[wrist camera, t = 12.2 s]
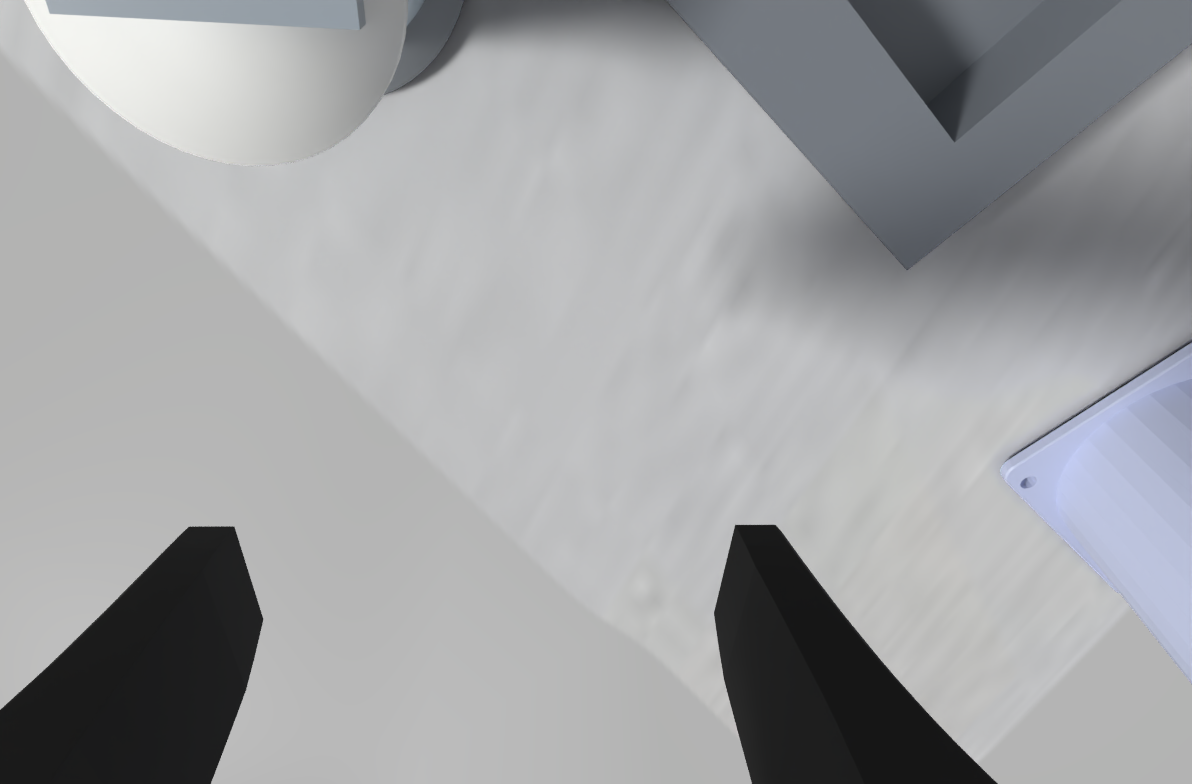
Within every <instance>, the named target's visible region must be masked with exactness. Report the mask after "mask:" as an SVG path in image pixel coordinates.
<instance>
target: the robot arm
mask: <svg viewBox="0 0 1192 784" xmlns="http://www.w3.org/2000/svg"><path fill="white" fill-rule="evenodd" d="M1000 474H1001V476H1002V478H1003V479H1004V480H1005V482H1006V483H1007V484H1008V485H1009V486H1010V487H1011V488H1012V489H1013V490H1014V491H1015V492H1016V493H1017V494H1018V495H1019V496H1020V497H1021V498H1022V499H1023V500H1024V501H1025V502H1026V503H1027V504H1028V505H1029V506H1030V507H1031V508H1032V509H1033V510H1034V511H1035V512H1036V513H1037V514H1038V515H1039V516H1040V517H1041V518H1042V519H1043V520H1044V521H1045V522H1046V523H1047V524H1048V525H1049V526H1050V527H1051V528H1052V529H1053V530H1054V531H1055V532H1056V533H1057V534H1058V535H1059V536H1060V537H1061V538H1062V539H1063V540H1064V541H1065V542H1066V543H1067V544H1068V545H1069V546H1070V547H1071V548H1072V549H1073V550H1074V551H1075V552H1076V553H1077V554H1078V555H1079V556H1080V557H1081V558H1082V559H1083V560H1084V561H1085V562H1086V563H1087V564H1088V565H1089V566H1090V567H1091V568H1092V569H1093V570H1094V571H1095V572H1096V573H1097V574H1099V575H1100V576H1101V577H1102V578H1103V579H1104V580H1105V581H1106V582H1107V583H1108V584H1109V585H1110V586H1111V587H1112V588H1113V589H1114V590H1115V591H1116V592H1117V593H1120V594H1121V595H1122V597H1123V598H1124V599H1125V600H1126V602H1127V603H1128V604H1129V605H1130V607H1131V608H1132V609H1133V611H1134V612H1135V613H1136V614H1137V616H1138V617H1139V618H1140V619H1141V621H1142V622H1143V623H1144V624H1145V626H1146V627H1147V628H1148V630H1149V631H1150V632H1151V633H1152V635H1153V636H1154V637H1155V638H1156V640H1157V641H1158V642H1159V643H1160V645H1161V646H1162V647H1163V648H1164V650H1165V651H1166V652H1167V654H1168V655H1169V656H1170V657H1171V659H1172V660H1173V661H1174V662H1175V664H1176V665H1177V666H1178V667H1179V668H1180V670H1181V671H1182V672H1183V674H1184V675H1185V676H1186V677H1187V679H1188V680H1189V681H1190V683H1191V684H1192V343H1190V344H1189V345H1187V346H1185V347H1184V348H1182V349H1181V350H1179V351H1178V352H1176V353H1174V354H1173V355H1171V356H1170V357H1168V358H1167V359H1165V360H1164V361H1162V362H1160V363H1159V364H1157V365H1156V366H1154V367H1153V368H1151V369H1149V370H1148V371H1146V372H1145V373H1143V374H1142V375H1140V376H1139V377H1137V378H1135V379H1134V380H1132V381H1131V382H1129V383H1128V384H1126V385H1124V386H1123V387H1121V388H1120V389H1118V390H1117V391H1115V392H1114V393H1112V394H1110V395H1109V396H1107V397H1106V398H1104V399H1103V400H1101V401H1099V402H1098V403H1096V404H1095V405H1093V406H1092V407H1090V408H1088V409H1087V410H1085V411H1084V412H1082V413H1081V414H1079V415H1078V416H1076V417H1074V418H1073V419H1071V420H1070V421H1068V422H1067V423H1065V424H1063V425H1062V426H1060V427H1059V428H1057V429H1056V430H1054V431H1053V432H1051V433H1049V434H1048V435H1046V436H1045V437H1043V438H1042V439H1040V440H1038V441H1037V442H1035V443H1034V444H1032V445H1031V446H1029V447H1028V448H1026V449H1024V450H1023V451H1021V452H1020V453H1018V454H1017V455H1015V456H1013V457H1012V458H1010V459H1009V460H1007V461H1006V462H1005V463H1004V464H1003V466H1002V467H1001V469H1000ZM714 616H715V623H716V630H717V637H718V644H719V651H720V657H721V663H722V669H723V675H724V681H725V685H726V688H727V692H728V696H729V700H730V704H731V707H732V711H733V715H734V719H735V722H736V726H737V730H738V734H739V737H740V741H741V745H742V748H743V752H744V755H745V759H746V763H747V766H748V770H749V773H750V777H751V781H752V784H997V783H996V782H995V781H994V780H993V779H992V778H991V777H990V776H989V775H988V774H987V773H986V772H985V771H984V770H983V769H982V768H981V767H980V766H979V765H978V764H977V763H976V762H975V761H974V760H973V759H972V758H971V757H970V756H969V755H968V754H967V753H966V752H965V751H964V750H963V749H962V748H961V747H960V746H959V745H958V744H957V743H956V742H955V741H954V740H953V739H952V738H951V737H950V736H949V735H948V734H947V733H946V732H945V731H944V730H943V729H942V728H941V727H940V726H939V725H938V724H937V723H936V721H935V720H934V719H933V718H932V717H931V716H930V715H929V714H928V713H927V712H926V711H925V710H924V709H923V707H922V706H921V705H920V704H919V703H918V702H917V701H916V700H915V699H914V697H913V696H912V695H911V694H910V693H909V692H908V691H907V690H906V689H905V687H904V686H903V685H902V684H901V683H900V682H899V681H898V680H897V679H896V677H895V676H894V675H893V674H892V673H891V672H890V670H889V669H888V668H887V667H886V666H885V665H884V663H883V662H882V661H881V660H880V659H879V658H878V656H877V655H876V654H875V653H874V651H873V650H872V649H871V648H870V647H869V645H868V644H867V643H866V642H865V640H864V639H863V638H862V637H861V636H860V634H859V633H858V632H857V631H856V629H855V628H854V627H853V626H852V625H851V623H850V622H849V621H848V620H847V618H846V617H845V616H844V615H843V613H842V612H841V611H840V609H839V608H838V607H837V606H836V604H835V603H834V602H833V600H832V599H831V598H830V597H829V595H828V594H827V593H826V591H825V590H824V589H823V587H822V586H821V585H820V583H819V582H818V581H817V579H816V578H815V577H814V575H813V574H812V573H811V571H810V570H809V569H808V567H807V566H806V565H805V563H804V562H803V561H802V559H801V558H800V557H799V555H798V554H797V552H796V551H795V550H794V548H793V547H792V546H791V544H790V543H789V541H788V540H787V539H786V537H785V536H784V535H783V533H782V532H781V530H780V529H779V528H778V527H777V526H776V525H735V529H734V533H733V537H732V541H731V545H730V549H729V553H728V558H727V562H726V566H725V570H724V574H723V578H722V582H721V587H720V591H719V595H718V599H717V603H716V607H715V611H714ZM262 622H263V617H262V614H261V610H260V607H259V605H258V601H257V598H256V595H255V591H254V588H253V585H252V582H251V579H250V576H249V573H248V569H247V566H246V563H245V560H244V556H243V553H242V550H241V547H240V544H239V540H238V537H237V534H236V531H235V528H234V527H188V528H187V529H186V530H185V531H184V532H183V533H182V534H181V535H180V536H179V537H178V538H177V539H176V540H175V541H174V542H173V543H172V544H171V545H170V546H169V547H168V548H167V549H166V550H165V551H164V552H163V553H162V554H161V555H160V556H159V557H158V558H157V559H156V560H155V561H154V562H153V563H152V564H151V565H150V566H149V567H148V568H147V569H146V570H145V571H144V572H143V573H142V574H141V575H140V576H139V577H138V578H137V579H136V580H135V581H134V582H133V584H131V585H130V586H129V587H128V588H127V589H126V590H125V591H124V592H123V593H122V594H121V595H120V597H119V598H118V599H117V600H116V601H115V602H114V603H113V604H112V605H111V606H110V607H109V608H108V609H107V610H106V611H105V612H104V613H103V614H102V615H101V616H100V617H99V618H97V619H96V620H95V622H93V623H92V624H91V625H90V626H89V627H88V628H87V629H86V630H85V631H84V632H83V633H82V634H81V635H80V636H79V637H78V638H77V639H76V640H75V641H74V642H73V643H72V644H71V645H70V646H69V647H68V648H67V649H66V650H65V651H64V652H63V653H62V654H60V655H59V656H58V657H57V658H56V659H55V660H54V661H53V662H52V663H51V664H50V665H49V666H48V667H47V668H46V669H45V670H44V671H43V672H42V673H40V674H39V675H38V676H37V677H36V678H35V679H34V680H33V681H32V682H31V683H29V684H28V685H27V686H26V687H25V688H24V689H23V690H22V691H21V692H19V693H18V694H17V695H16V696H15V697H14V698H13V699H12V700H11V701H10V702H8V703H7V704H6V705H5V706H4V707H3V708H2V709H1V710H0V784H211V781H212V779H213V776H214V774H215V771H216V768H217V766H218V763H219V761H220V758H221V755H222V753H223V750H224V747H225V745H226V742H227V739H228V737H229V734H230V731H231V729H232V726H233V723H234V721H235V718H236V715H237V713H238V710H239V707H240V704H241V702H242V699H243V696H244V693H245V691H246V687H247V683H248V680H249V675H250V672H251V668H252V665H253V661H254V657H255V653H256V648H257V644H258V640H259V635H260V631H261V627H262Z"/></svg>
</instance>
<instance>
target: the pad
mask: <svg viewBox="0 0 1192 784" xmlns="http://www.w3.org/2000/svg"><path fill="white" fill-rule="evenodd" d="M463 2H464V0H425V1H424V3H423V4H422V6H421V8H420V10H419V11H418V13H417V14H416V15H415V16H414V18H413V19H412V20H411V22H410V23H409V24H408V26H407V27H406V36H405V41H404V45H403V49H402V53H401V57H400V61H399V63H398V66H397V68H396V71H395V73H394V76H393V79H392V81H391V82H390V84H389V86H388V88H387V89H386V91H385V93H384V94H387V93H389V92H392V91H394V90H396V89H398V88H400V87H401V86H403V85H405V84H406V83H408V82H410V81H411V80H413V79H414V78H415V77H416V76H417V75H419V74H420V73H421V72H422V71H423V70H425V69H426V68H427V67H428V65H429V64H430V63H431V62H432V61H433V60H434V59H435V58H436V56H437V55H438V54H439V52H440V51H441V49H442V48H443V46H444V45H445V43H446V42H447V40H448V39H449V36H450V34H451V32H452V30H453V28H454V26H455V24H456V22H457V20H458V17H459V14H460V11H461V8H462V5H463Z"/></svg>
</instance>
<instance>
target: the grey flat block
mask: <svg viewBox="0 0 1192 784" xmlns="http://www.w3.org/2000/svg"><path fill="white" fill-rule="evenodd" d="M666 1H667V2H668V3H669V4H670V5H671V7H672V8H673V9H674V10H675V11H676V12H677V13H678V14H679V16H680V17H681V18H682V19H683V20H684V21H685V22H686V23H687V24H688V26H689V27H690V28H691V29H692V30H693V31H694V32H695V33H696V35H697V36H698V37H699V38H700V39H701V40H702V41H703V42H704V44H705V45H706V46H707V47H708V48H709V49H710V50H711V51H712V52H713V54H714V55H715V56H716V57H717V58H718V59H719V60H720V61H721V63H722V64H723V65H724V66H725V67H726V68H727V69H728V70H729V72H730V73H731V74H732V75H733V76H734V77H735V78H736V79H737V81H738V82H739V83H740V84H741V85H742V86H743V87H744V88H745V89H746V91H747V92H748V93H749V94H750V95H751V96H752V97H753V98H754V100H755V101H756V102H757V103H758V104H759V105H760V106H761V107H762V109H763V110H764V111H765V112H766V113H767V114H768V115H769V116H770V117H771V119H772V120H773V121H774V122H775V123H776V124H777V125H778V126H779V128H780V129H781V130H782V131H783V132H784V133H785V134H786V135H787V137H788V138H789V139H790V140H791V141H792V142H793V143H794V144H795V145H796V147H797V148H798V149H799V150H800V151H801V152H802V153H803V154H804V156H805V157H806V158H807V159H808V160H809V161H810V162H811V163H812V165H813V166H814V167H815V168H816V169H817V170H818V171H819V172H820V174H821V175H822V176H823V177H824V178H825V179H826V180H827V181H828V182H829V184H830V185H831V186H832V187H833V188H834V189H835V190H836V191H837V193H838V194H839V195H840V196H841V197H842V198H843V199H844V200H845V202H846V203H847V204H848V205H849V206H850V207H851V208H852V209H853V210H854V212H855V213H856V214H857V215H858V216H859V217H860V218H861V219H862V221H863V222H864V223H865V224H866V225H867V226H868V227H869V228H870V230H871V231H872V232H873V233H874V234H875V235H876V236H877V237H878V238H879V240H880V241H881V242H882V243H883V244H884V245H885V246H886V247H887V249H888V250H889V251H890V252H891V253H892V254H893V255H894V256H895V258H896V259H897V260H898V261H899V262H900V263H901V264H902V265H903V266H904V268H905V269H906V270H908V269H909V268H911V267H912V266H913V265H914V264H916V263H917V262H918V261H919V260H921V259H922V258H923V257H924V256H926V255H927V254H928V253H929V252H931V251H932V250H933V249H934V248H936V247H937V246H938V245H939V244H941V243H942V242H943V241H944V240H946V239H947V238H948V237H950V236H951V235H952V234H953V233H955V232H956V231H957V230H958V229H960V228H961V227H962V226H963V225H965V224H966V223H967V222H968V221H970V220H971V219H972V218H973V217H975V216H976V215H977V214H978V213H980V212H981V211H982V210H983V209H985V208H986V207H987V206H988V205H990V204H991V203H992V202H993V201H995V200H996V199H997V198H998V197H1000V196H1001V195H1002V194H1004V193H1005V192H1006V191H1007V190H1009V189H1010V188H1011V187H1012V186H1014V185H1015V184H1016V183H1017V182H1019V181H1020V180H1021V179H1022V178H1024V177H1025V176H1026V175H1027V174H1029V173H1030V172H1031V171H1032V170H1034V169H1035V168H1036V167H1037V166H1039V165H1040V164H1041V163H1042V162H1044V161H1045V160H1046V159H1047V158H1049V157H1050V156H1051V155H1052V154H1054V153H1055V152H1056V151H1057V150H1059V149H1060V148H1061V147H1063V146H1064V145H1065V144H1066V143H1068V142H1069V141H1070V140H1071V139H1073V138H1074V137H1075V136H1076V135H1078V134H1079V133H1080V132H1081V131H1083V130H1084V129H1085V128H1086V127H1088V126H1089V125H1090V124H1091V123H1093V122H1094V121H1095V120H1096V119H1098V118H1099V117H1100V116H1101V115H1103V114H1104V113H1105V112H1106V111H1108V110H1109V109H1110V108H1111V107H1113V106H1114V105H1115V104H1116V103H1118V102H1119V101H1120V100H1122V99H1123V98H1124V97H1125V96H1127V95H1128V94H1129V93H1130V92H1132V91H1133V90H1134V89H1135V88H1137V87H1138V86H1139V85H1140V84H1142V83H1143V82H1144V81H1145V80H1147V79H1148V78H1149V77H1150V76H1152V75H1153V74H1154V73H1155V72H1157V71H1158V70H1159V69H1160V68H1162V67H1163V66H1164V65H1165V64H1167V63H1168V62H1169V61H1170V60H1172V59H1173V58H1174V57H1175V56H1177V55H1178V54H1179V53H1181V52H1182V51H1183V50H1184V49H1186V48H1187V47H1188V46H1189V45H1191V44H1192V0H666Z"/></svg>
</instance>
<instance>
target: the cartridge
mask: <svg viewBox="0 0 1192 784" xmlns="http://www.w3.org/2000/svg"><path fill="white" fill-rule="evenodd" d="M24 1H25V3H26V4H27V6H28V8H29V10H30V12H31V14H32V16H33V18H34V19H35V21H36V23H37V25H38V26H39V28H40V29H41V31H42V32H43V34H44V35H45V37H46V39H47V40H48V42H49V43H50V45H51V46H52V48H53V49H54V50H55V52H56V53H57V54H58V55H59V57H60V58H61V59H62V60H63V62H64V63H65V64H66V65H67V67H68V68H69V69H70V70H71V72H72V73H73V74H74V75H75V76H76V77H77V78H78V79H79V80H80V81H81V82H82V83H83V84H84V85H85V86H86V87H87V88H88V89H89V90H90V91H91V92H92V93H93V94H94V95H95V96H96V97H97V98H98V99H100V100H101V101H102V102H103V103H104V104H105V105H107V106H108V107H109V108H110V109H111V110H112V111H114V112H115V113H116V114H118V115H119V116H121V117H122V118H123V119H125V120H126V121H128V122H129V123H130V124H132V125H133V126H135V127H136V128H138V129H139V130H141V131H143V132H145V133H146V134H148V135H150V136H152V137H153V138H155V139H157V140H159V141H161V142H163V143H165V144H167V145H169V146H172V147H174V148H176V149H178V150H180V151H183V152H186V153H189V154H192V155H195V156H198V157H201V158H204V159H208V160H212V161H217V162H221V163H226V164H233V165H244V166H274V165H280V164H286V163H292V162H296V161H300V160H303V159H306V158H309V157H313V156H315V155H317V154H319V153H321V152H323V151H325V150H328V149H330V148H332V147H333V146H335V145H336V144H338V143H339V142H341V141H342V140H344V139H345V138H347V137H348V136H349V135H350V134H351V133H353V132H354V131H355V130H356V129H357V128H358V127H359V126H360V125H361V124H362V123H363V122H364V121H365V120H366V119H367V117H368V116H369V115H370V113H371V112H372V111H373V110H374V108H375V107H376V106H377V104H378V103H379V101H380V100H381V98H382V96H383V95H384V93H385V91H386V89H387V88H388V86H389V84H390V82H391V81H392V79H393V76H394V73H395V71H396V68H397V66H398V63H399V61H400V57H401V53H402V49H403V45H404V41H405V36H406V27H407V26H408V24H409V23H410V22H411V20H412V19H413V18H414V16H415V15H416V14H417V13H418V11H419V10H420V8H421V6H422V4H423V3H424V1H425V0H24Z"/></svg>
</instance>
